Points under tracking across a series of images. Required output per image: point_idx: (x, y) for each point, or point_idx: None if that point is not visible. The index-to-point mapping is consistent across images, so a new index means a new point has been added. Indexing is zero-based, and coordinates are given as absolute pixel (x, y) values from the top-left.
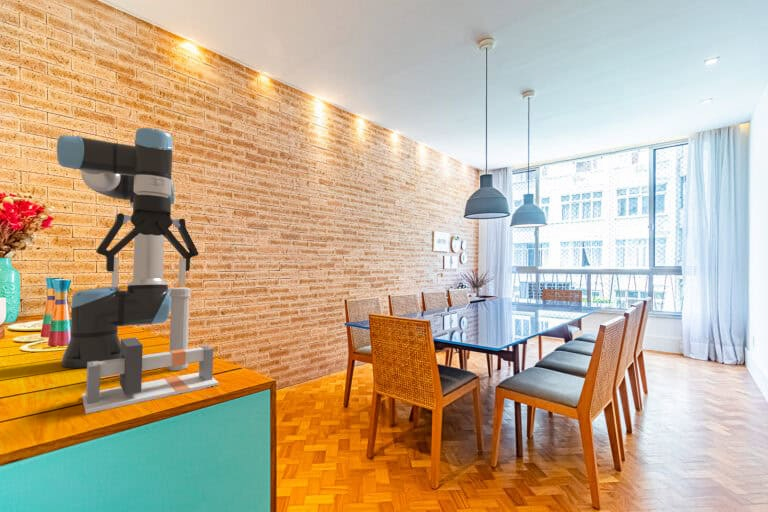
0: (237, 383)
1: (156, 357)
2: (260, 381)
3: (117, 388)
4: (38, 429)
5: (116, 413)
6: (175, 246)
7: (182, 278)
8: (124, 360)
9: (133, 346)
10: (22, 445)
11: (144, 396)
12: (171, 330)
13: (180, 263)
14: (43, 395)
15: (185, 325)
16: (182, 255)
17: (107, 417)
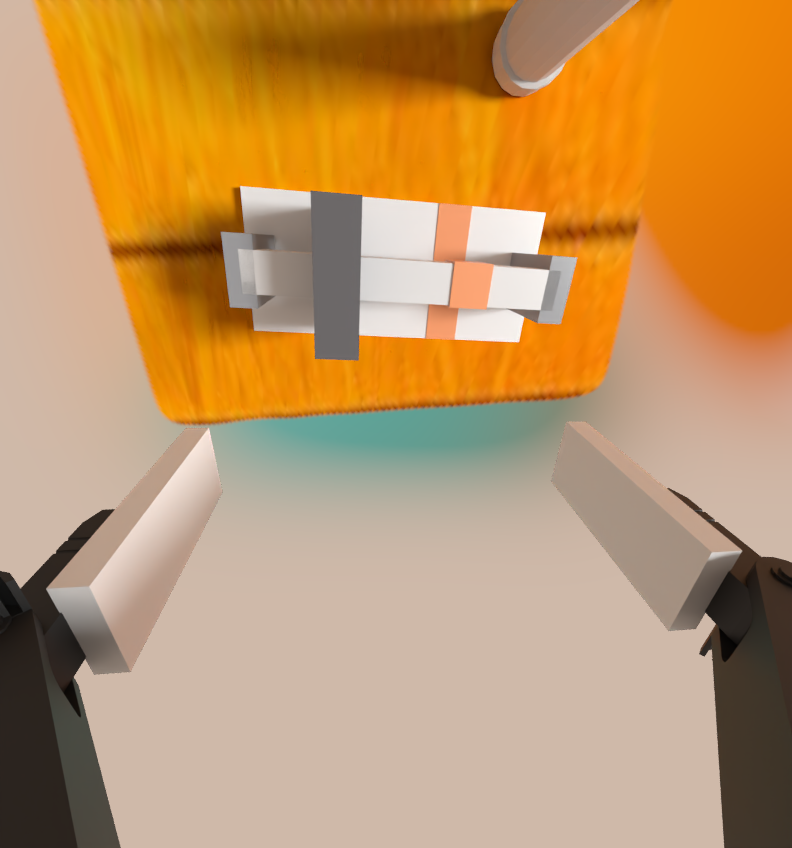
0: (550, 355)
1: (404, 302)
2: (588, 377)
3: None
4: (185, 355)
5: (307, 366)
6: (739, 763)
7: (572, 505)
8: None
9: (333, 358)
10: (177, 410)
11: (363, 326)
12: None
13: (653, 548)
14: (139, 67)
15: (635, 2)
16: (752, 597)
17: (292, 376)
